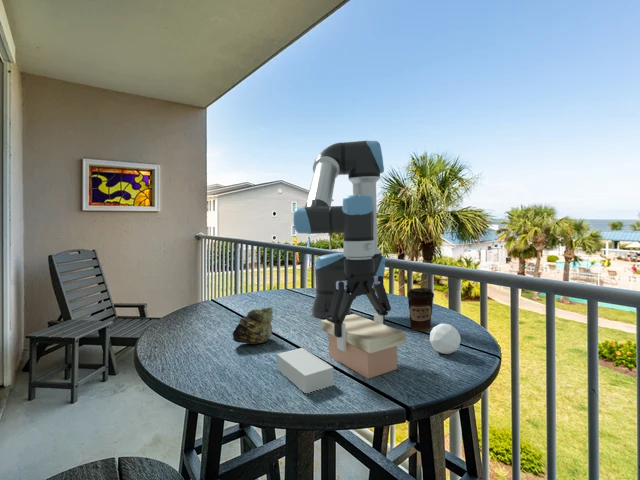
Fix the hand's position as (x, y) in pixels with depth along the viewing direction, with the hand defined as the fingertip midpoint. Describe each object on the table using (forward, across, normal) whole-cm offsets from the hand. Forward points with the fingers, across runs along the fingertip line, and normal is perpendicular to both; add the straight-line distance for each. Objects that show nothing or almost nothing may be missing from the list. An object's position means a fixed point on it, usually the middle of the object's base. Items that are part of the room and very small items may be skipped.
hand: (360, 344), depth 84 cm
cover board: (-2, 0, 0) cm, 2 cm away
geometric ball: (+5, +22, -8) cm, 24 cm away
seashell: (+5, -17, +30) cm, 35 cm away
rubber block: (+5, -16, +1) cm, 17 cm away
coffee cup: (+5, +32, +9) cm, 34 cm away
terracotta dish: (+5, 0, 0) cm, 5 cm away
